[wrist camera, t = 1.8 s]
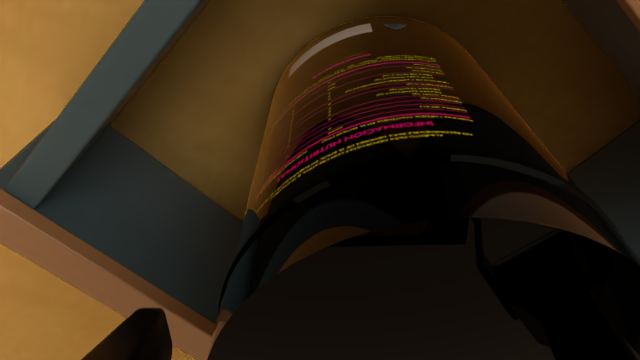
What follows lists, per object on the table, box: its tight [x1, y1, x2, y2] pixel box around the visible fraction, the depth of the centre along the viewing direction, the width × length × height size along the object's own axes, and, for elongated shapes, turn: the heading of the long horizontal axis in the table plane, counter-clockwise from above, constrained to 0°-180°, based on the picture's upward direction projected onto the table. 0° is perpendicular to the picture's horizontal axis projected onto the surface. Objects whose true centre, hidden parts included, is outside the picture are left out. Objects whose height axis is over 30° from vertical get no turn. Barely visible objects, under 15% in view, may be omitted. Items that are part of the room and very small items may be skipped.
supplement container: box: [207, 16, 640, 360], centre depth 12 cm, size 7×7×10 cm
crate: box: [0, 0, 640, 360], centre depth 14 cm, size 14×14×6 cm
